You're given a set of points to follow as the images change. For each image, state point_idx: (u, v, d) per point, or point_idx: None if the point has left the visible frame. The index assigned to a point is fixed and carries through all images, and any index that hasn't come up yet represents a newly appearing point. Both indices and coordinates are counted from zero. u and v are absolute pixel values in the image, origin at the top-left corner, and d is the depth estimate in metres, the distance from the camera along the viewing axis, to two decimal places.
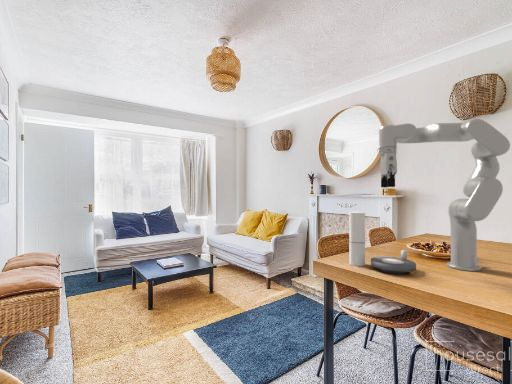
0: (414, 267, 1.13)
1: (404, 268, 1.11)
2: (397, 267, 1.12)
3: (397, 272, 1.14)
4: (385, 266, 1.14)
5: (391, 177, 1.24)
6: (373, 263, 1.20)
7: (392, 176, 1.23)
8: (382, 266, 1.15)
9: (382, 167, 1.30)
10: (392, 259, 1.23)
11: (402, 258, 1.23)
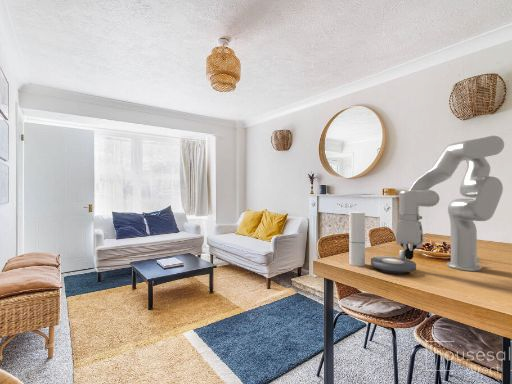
0: (415, 267, 1.14)
1: (406, 268, 1.11)
2: (399, 267, 1.12)
3: (397, 272, 1.14)
4: (387, 267, 1.13)
5: None
6: (374, 264, 1.19)
7: None
8: (384, 266, 1.14)
9: (406, 235, 1.20)
10: (391, 259, 1.23)
11: (401, 258, 1.24)
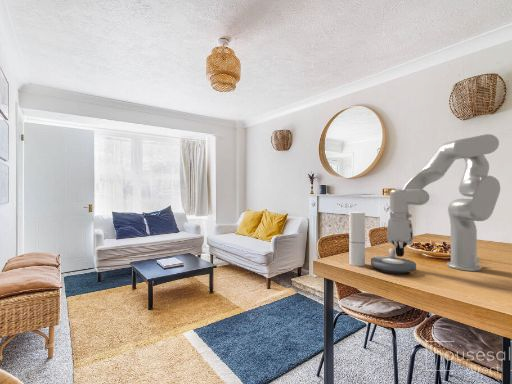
0: None
1: (414, 266, 1.14)
2: (411, 267, 1.12)
3: (397, 272, 1.14)
4: (401, 268, 1.11)
5: (403, 247, 1.23)
6: (385, 266, 1.14)
7: (404, 246, 1.23)
8: (398, 268, 1.12)
9: (397, 233, 1.23)
10: (387, 259, 1.24)
11: (392, 256, 1.26)
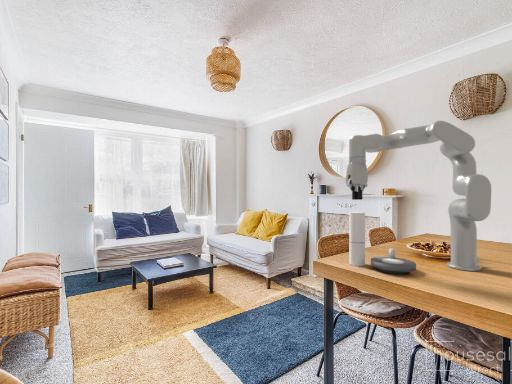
0: None
1: (414, 266, 1.14)
2: (411, 267, 1.12)
3: (397, 272, 1.14)
4: (401, 268, 1.11)
5: None
6: (385, 266, 1.14)
7: None
8: (398, 268, 1.12)
9: (361, 176, 1.28)
10: (387, 259, 1.24)
11: (392, 256, 1.26)
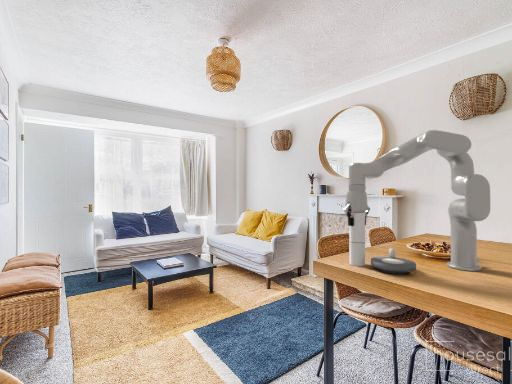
0: None
1: (414, 266, 1.14)
2: (411, 267, 1.12)
3: (397, 272, 1.14)
4: (401, 268, 1.11)
5: None
6: (385, 266, 1.14)
7: None
8: (398, 268, 1.12)
9: (360, 204, 1.28)
10: (387, 259, 1.24)
11: (392, 256, 1.26)
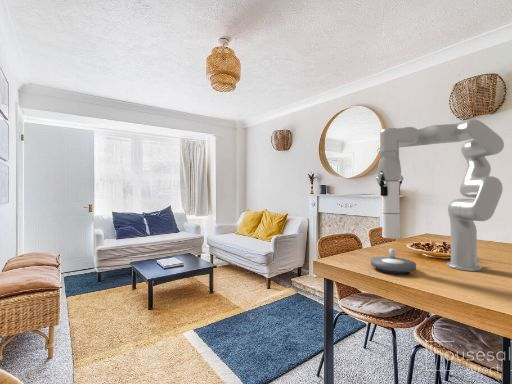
0: None
1: (414, 266, 1.14)
2: (411, 267, 1.12)
3: (397, 272, 1.14)
4: (401, 268, 1.11)
5: None
6: (385, 266, 1.14)
7: None
8: (398, 268, 1.12)
9: (394, 172, 1.19)
10: (387, 259, 1.24)
11: (392, 256, 1.26)
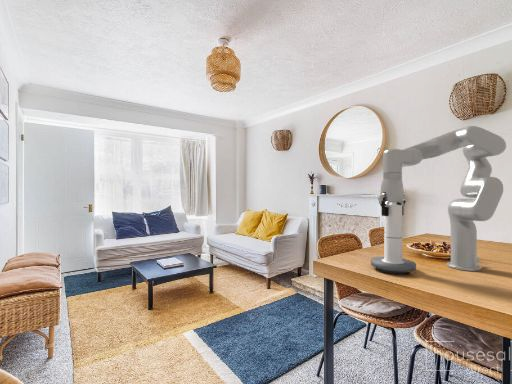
0: None
1: (414, 266, 1.14)
2: (411, 267, 1.12)
3: (397, 272, 1.14)
4: (401, 268, 1.11)
5: None
6: (385, 266, 1.14)
7: None
8: (398, 268, 1.12)
9: (397, 194, 1.18)
10: None
11: None
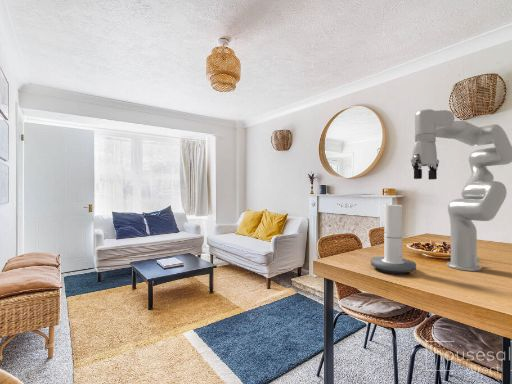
0: None
1: (414, 266, 1.14)
2: (411, 267, 1.12)
3: (397, 272, 1.14)
4: (401, 268, 1.11)
5: None
6: (385, 266, 1.14)
7: None
8: (398, 268, 1.12)
9: (430, 156, 1.14)
10: None
11: None
